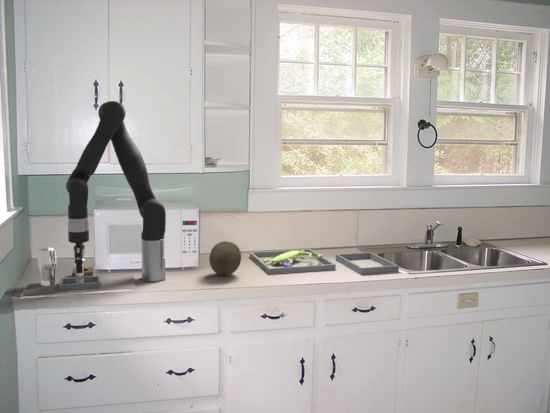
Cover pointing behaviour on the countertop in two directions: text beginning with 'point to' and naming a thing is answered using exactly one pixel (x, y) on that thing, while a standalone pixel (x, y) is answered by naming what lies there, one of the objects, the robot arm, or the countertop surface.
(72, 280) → the tray
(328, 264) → the grey open box
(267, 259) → the figurine
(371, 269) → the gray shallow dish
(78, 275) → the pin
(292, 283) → the countertop surface
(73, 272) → the pin block
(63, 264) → the countertop surface
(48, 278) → the beer glass
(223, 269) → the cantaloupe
